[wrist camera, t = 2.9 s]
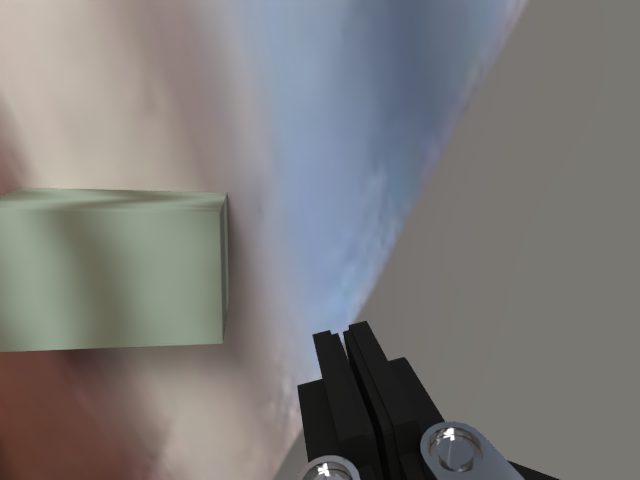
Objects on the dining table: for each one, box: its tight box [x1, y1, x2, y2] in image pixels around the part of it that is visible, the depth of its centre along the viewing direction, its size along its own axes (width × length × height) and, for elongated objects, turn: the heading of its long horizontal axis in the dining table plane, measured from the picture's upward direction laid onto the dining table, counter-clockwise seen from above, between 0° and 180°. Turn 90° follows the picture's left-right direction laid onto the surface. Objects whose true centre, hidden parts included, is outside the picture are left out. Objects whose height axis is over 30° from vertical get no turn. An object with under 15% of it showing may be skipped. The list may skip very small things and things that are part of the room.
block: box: [0, 188, 229, 352], centre depth 23 cm, size 12×8×6 cm, turn 87°
